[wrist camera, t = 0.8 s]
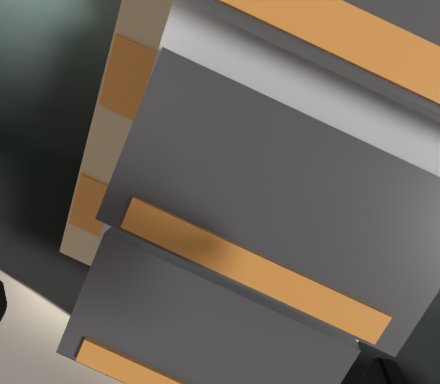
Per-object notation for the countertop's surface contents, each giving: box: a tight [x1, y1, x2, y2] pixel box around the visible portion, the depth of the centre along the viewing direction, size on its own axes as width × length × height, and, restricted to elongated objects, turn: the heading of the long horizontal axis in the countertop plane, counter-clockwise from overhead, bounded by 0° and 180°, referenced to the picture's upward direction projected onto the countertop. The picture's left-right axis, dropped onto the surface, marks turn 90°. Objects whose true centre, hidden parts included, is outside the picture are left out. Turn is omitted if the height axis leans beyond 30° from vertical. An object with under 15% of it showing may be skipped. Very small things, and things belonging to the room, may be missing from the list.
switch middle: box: [95, 47, 440, 357], centre depth 13 cm, size 12×6×1 cm, turn 68°
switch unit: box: [60, 0, 440, 342], centre depth 17 cm, size 18×25×6 cm
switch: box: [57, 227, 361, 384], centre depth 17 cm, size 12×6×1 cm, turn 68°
